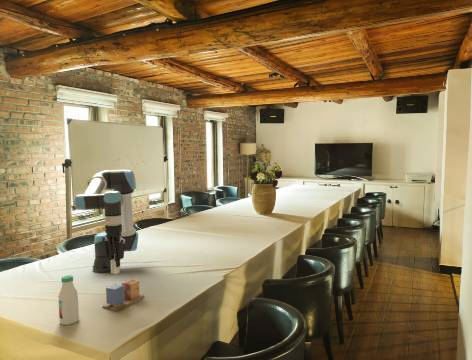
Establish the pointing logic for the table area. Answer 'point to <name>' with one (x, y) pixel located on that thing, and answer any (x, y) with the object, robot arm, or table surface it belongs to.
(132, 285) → the organizer
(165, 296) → the table surface
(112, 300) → the slate blue cube
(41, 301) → the table surface
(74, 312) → the milk bottle
